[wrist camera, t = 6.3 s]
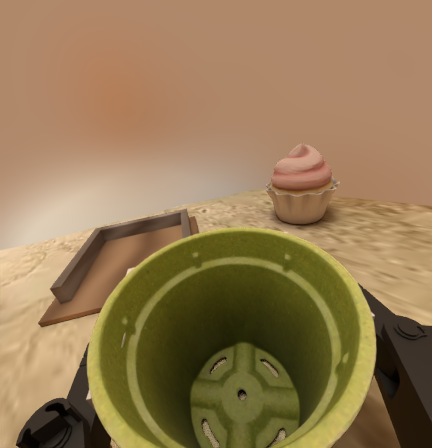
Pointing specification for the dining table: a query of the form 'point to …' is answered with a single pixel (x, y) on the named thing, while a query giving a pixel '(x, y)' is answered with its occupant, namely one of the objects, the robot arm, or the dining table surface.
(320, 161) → the cupcake
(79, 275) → the keeper bracket
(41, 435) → the robot arm
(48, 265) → the dining table surface
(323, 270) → the plant pot
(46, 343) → the dining table surface
